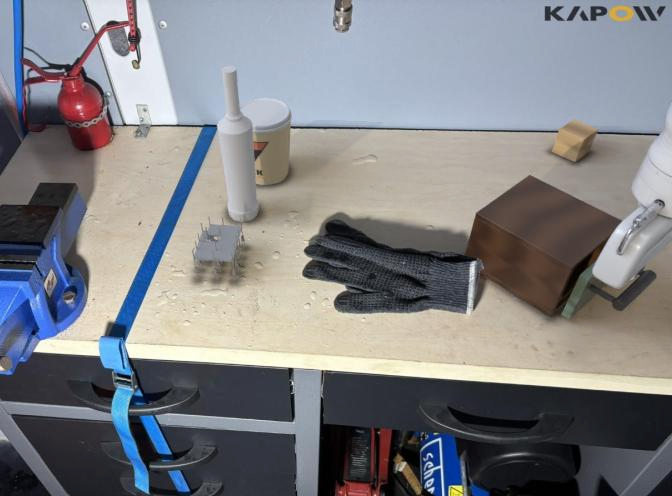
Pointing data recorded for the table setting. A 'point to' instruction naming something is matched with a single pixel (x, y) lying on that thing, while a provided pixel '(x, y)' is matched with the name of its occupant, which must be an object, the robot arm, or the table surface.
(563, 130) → the block
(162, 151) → the table surface
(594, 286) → the drawer
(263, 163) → the beige lidded tub
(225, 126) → the bottle
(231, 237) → the building frame
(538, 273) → the cabinet
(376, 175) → the table surface
